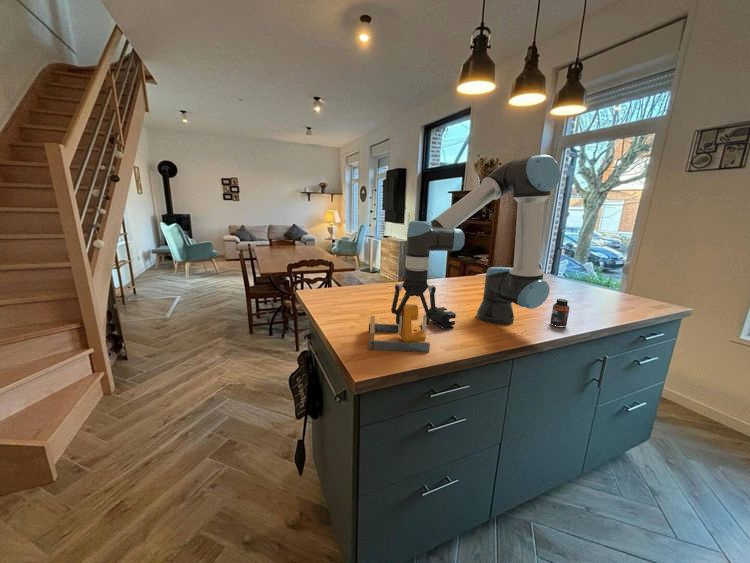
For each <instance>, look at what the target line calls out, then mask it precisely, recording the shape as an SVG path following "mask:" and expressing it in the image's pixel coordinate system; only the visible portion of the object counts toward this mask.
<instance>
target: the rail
mask: <svg viewBox="0 0 750 563" xmlns="http://www.w3.org/2000/svg"><path fill="white" fill-rule="evenodd" d="M398 325H399V324H394V323H376V318H375V315H370V321H369V322H368V333H369V339H367V351H381V352H382V351H386V352H387V351H388V352H411V353H415V352H416V353H430V349H431V348H430V345H431V343H430V342H427V341H425V342H405V341H403V340H402V341H398V340H380V339H379V340H378V339H377V340H376V339H375V333H389V334H395V333H396V334H399V332H398ZM418 325H419V324H418ZM422 326H423V324H422V325H421V324H420V325H419V327H420V328H421V330H422Z"/></svg>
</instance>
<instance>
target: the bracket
mask: <svg viewBox="0 0 750 563" xmlns="http://www.w3.org/2000/svg"><path fill="white" fill-rule="evenodd" d="M401 314H402V328H401V334H399V337H400V338H401V340H402V341H404V342H426V338H427V335H426V334H424V332H423V331H422V330H421V328H420V327H419V324H412V321H417V320H418V318H419V306H418V305H417V303H416V304H415V303H414V304H409V303H406V304H405V306H404V308H403V310H402V312H401ZM398 328H399V325H398Z"/></svg>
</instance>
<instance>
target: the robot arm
mask: <svg viewBox="0 0 750 563" xmlns="http://www.w3.org/2000/svg"><path fill="white" fill-rule="evenodd" d="M560 179H561V167H560V165H559V163H558V161H556V159H555V158H554V157H553V156H551V155H549V154H548V155H547V154H541V155H533V156H527V157H523V158H519V159H513V160H510V161H508V162H506V163H504V164H502V165H501V166H500V167H498V168H496V169H495V170H493V171H492V172H491V173H489V174H488V175H486V176H485V177H484V178H483V179H482V180H481V183H480V184H479V185H478V186H476V187H475V188H474V189H472V190H471V191H470V192H468V193H467V194H466V195H465V196H463V197H462V198H460V199H459V200H458V201H456V202H455V203H454V204H452V205H451V206H450V207H448V208H447V209H445V211H443V212H441V214H439V215H438V216H436V217H435V218H433V219H432V220H431V221H424V220H423V221H420V220H412V221H411V220H410V221H409V222H408V225H407V232H406V233H407V234H406V251H405V252H406V253H405V269H404V279H403V282H402V283H401V284H398V283H396V284H394V289H395V290H394V296H393V300H392V304H391V309H390V311H391V314H393V315H395V323H396V324H399V328H398V332H399V333H398V335H400V334H401V328H402V314H401V312H402V310H403V308H404V306H405V304H407V302H408V301H409V299H410V297H419V298H420V301H421V304H422V307H423V309H424V312H425V314H423V316H422V331H423V332H424V334H425V335H426V332H427V326H429V325H430V321H431V320H430V317H431V316H432V315H435V314H436V308H435V307H436V296H435V293H436V290H437V288H436V286H435V285H429V284H428V273H429V271H428V268H429V261H430V260H429V258H430V252H433V251H437V252H438V251H439V252H442V251H443V252H444V251H445V252H455V251H456V252H457V251H460V250H461V249H462V248H463V247H464V245H465V239H466V238H465V233H464V231H463V230H462V229H461V228H457V227H459V226H460V225H461V224H463V223H464V222H465V221H467V220H468V219H469V218H470V217H472V216H473V215H474V214H476V213H477V212H478V211H479V210H481V209H483V208H484V207H485V206H486V205H487V204H489V203H490V202H492V201H493V200H496V201H498V199H500V198H502V197H503V196H505V195H509V194H512V195H513V196H512V197H513V200H515V202H517V207H516V208H517V209H516V224H515V239H514V240H515V241H514V259H513V267H505V266H491V267H489V268H487V270H486V274H485V280H484V288H483V297H482V301H481V303H480V306H479V307H478V309H477V312H476V318H477V319H478V320H480V321H482V322H484V323H487V324H492V325H500V326H508V325H512V324H513V323H514V321H515V315H514V310H513V304H515V305H517V306H519V307H520V308H521V307H522V308H526V309H530V310H531V309H536V308H538V307H540V306H542V305H543V303H545V302H546V300H547V299H548V296H549V295H550V294H549V293H550V285H549V284H548V282H547V281H546V280H544V271H543V270H542V269H541V268H540V261H541V250H542V249H541V248H542V238H543V237H542V236H543V227H544V226H543V224H544V214H545V203H546V201H547V200H548V199H549V198H550V196H551V191H553V190H554V189H555V188H556V187H557V185H558V184H559V182H560ZM402 289H404V291H405V293H404V295H403V297H402V300H401V301H400V303H399V306H398V307H397V305H398V301H399V296H400V292H401V291H402ZM426 291H428V292H429V301H430V302H429V303H430V304H429V305H430V308H431V311H429V309H430V308H429V307H428V303H427V301H426V298H425V295H424V293H425V292H426ZM512 303H513V304H512Z"/></svg>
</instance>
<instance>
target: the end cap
mask: <svg viewBox="0 0 750 563" xmlns="http://www.w3.org/2000/svg"><path fill="white" fill-rule="evenodd" d="M435 308H436V314H435V315H432V316H431V317H430V321H431V322H433V323H434V324H436V325H437V326H439V327H440V328H442V329H444V330H451V329H454V328H455V325H456V321H455V320H451V319H456V318H457V314H456V313H455V312H453V311H448V309H447V307H437V306H435ZM428 309H429V311H431V307H429V308H428Z"/></svg>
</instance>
